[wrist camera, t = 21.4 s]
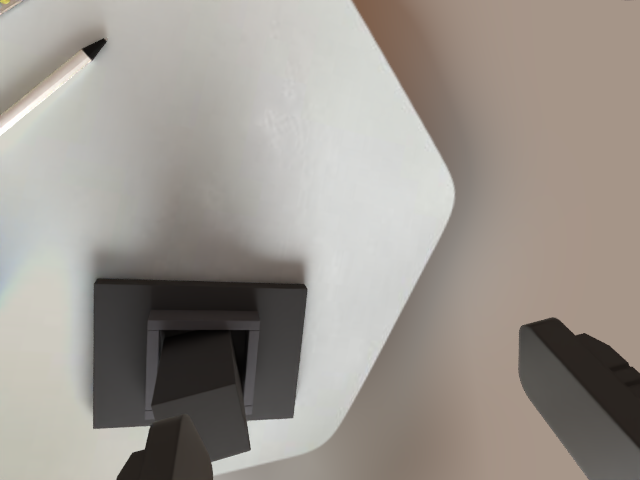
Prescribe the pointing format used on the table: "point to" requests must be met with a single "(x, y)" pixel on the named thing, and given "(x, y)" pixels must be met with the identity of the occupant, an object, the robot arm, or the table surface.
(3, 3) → the keychain
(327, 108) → the table surface
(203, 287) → the base pad
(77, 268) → the table surface
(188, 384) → the pad block
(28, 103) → the pen
